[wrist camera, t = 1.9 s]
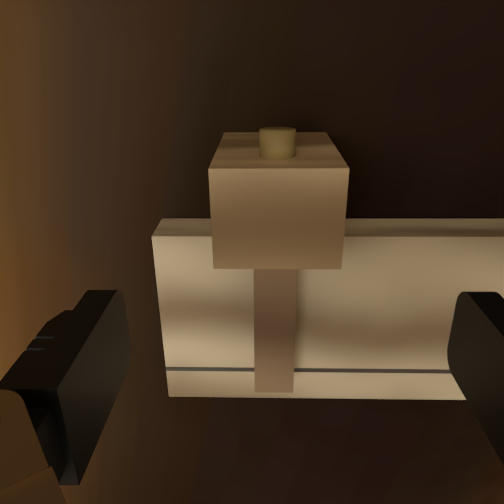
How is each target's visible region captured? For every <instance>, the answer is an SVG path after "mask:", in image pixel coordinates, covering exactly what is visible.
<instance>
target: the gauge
mask: <svg viewBox="0 0 504 504" xmlns="http://www.w3.org/2000/svg"><path fill="white" fill-rule="evenodd" d="M208 171H209V191H210V211H211V231H212V251H213V269H254V373H255V392H276V393H293V384H294V356H295V328H296V299H297V271H298V269H341V268H342V256H343V243H344V231H345V218H346V206H347V193H348V181H349V167H348V165H347V164H346V162H345V161H344V159H343V158H342V156H341V154H340V153H339V151H338V150H337V148H336V147H335V145H334V144H333V142H332V141H331V139H330V138H329V136H328V134H327V133H326V132H296V129H294V128H290V127H266V128H261V129H260V132H256V133H224V135H223V137H222V139H221V141H220V144H219V146H218V148H217V150H216V153H215V155H214V157H213V159H212V162H211V164H210V166H209V168H208Z"/></svg>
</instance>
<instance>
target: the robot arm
mask: <svg viewBox="0 0 504 504" xmlns="http://www.w3.org/2000/svg"><path fill="white" fill-rule="evenodd" d="M130 356H131V345H130V338H129V331H128V324H127V317H126V310H125V303H124V297H123V294H122V292H121V291H120V290H88V291H87V292H86V293H85V294H84V296H83V297H82V298H81V300H80V301H79V302H78V304H77V305H76V307H75V308H74V309H73V310H65V311H63V312H62V313H60V314H59V315H57V316H56V317H54V318H53V319H51V320H50V321H48V322H47V323H46V324H45V325H44V327H43V328H42V329H41V330H40V332H39V333H38V334H37V335H36V339H33V340H32V342H31V343H30V344H29V345H28V347H27V350H26V351H24V352H23V353H22V354H21V356H20V357H19V358H18V359H17V361H16V362H15V363H14V364H13V366H12V367H11V368H10V369H9V371H8V372H7V373H6V374H5V376H4V377H3V378H2V380H1V381H0V504H67V503H66V500H65V498H64V495H63V493H62V490H61V487H60V485H79V484H80V482H81V480H82V477H83V475H84V473H85V470H86V468H87V466H88V463H89V461H90V458H91V456H92V454H93V451H94V449H95V447H96V444H97V442H98V440H99V437H100V435H101V432H102V430H103V428H104V425H105V423H106V421H107V418H108V416H109V414H110V411H111V409H112V407H113V404H114V402H115V399H116V397H117V395H118V392H119V390H120V388H121V385H122V383H123V381H124V378H125V376H126V373H127V371H128V368H129V364H130ZM447 359H448V365H449V369H450V372H451V374H452V376H453V377H454V379H455V381H456V383H457V384H458V386H459V388H460V390H461V391H462V393H463V395H464V397H465V398H466V400H467V402H468V404H469V405H470V407H471V409H472V411H473V412H474V414H475V416H476V418H477V419H478V421H479V423H480V425H481V426H482V428H483V430H484V432H485V433H486V435H487V437H488V439H489V440H490V442H491V444H492V446H493V447H494V449H495V451H496V453H497V454H498V456H499V458H500V460H501V461H502V463H503V465H504V298H503V297H502V296H501V295H500V294H499V293H497V292H466V291H463V292H461V293H460V294H459V295H458V298H457V301H456V305H455V310H454V316H453V321H452V326H451V331H450V336H449V342H448V347H447Z"/></svg>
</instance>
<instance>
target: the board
mask: <svg viewBox="0 0 504 504" xmlns="http://www.w3.org/2000/svg"><path fill="white" fill-rule="evenodd" d="M152 244H153V253H154V263H155V272H156V281H157V290H158V300H159V309H160V318H161V327H162V336H163V346H164V355H165V364H166V373H167V382H168V392H169V396H171V397H258V398H345V399H433V400H466V398H465V397H464V395H463V393H462V391H461V390H460V388H459V386H458V384H457V383H456V381H455V379H454V377H453V376H452V374H451V372H450V369H449V365H448V359H447V347H448V342H449V336H450V331H451V326H452V321H453V316H454V310H455V305H456V301H457V298H458V295H459V294H460V293H461V292H463V291H466V292H497V293H499V294H500V295H501V296H502V297H503V298H504V219H345V231H344V243H343V256H342V268H341V269H298V271H297V299H296V328H295V356H294V384H293V393H276V392H255V373H254V269H213V251H212V231H211V219H198V218H162V220H161V221H160V223H159V225H158V226H157V228H156V230H155V232H154V233H153V235H152Z"/></svg>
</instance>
